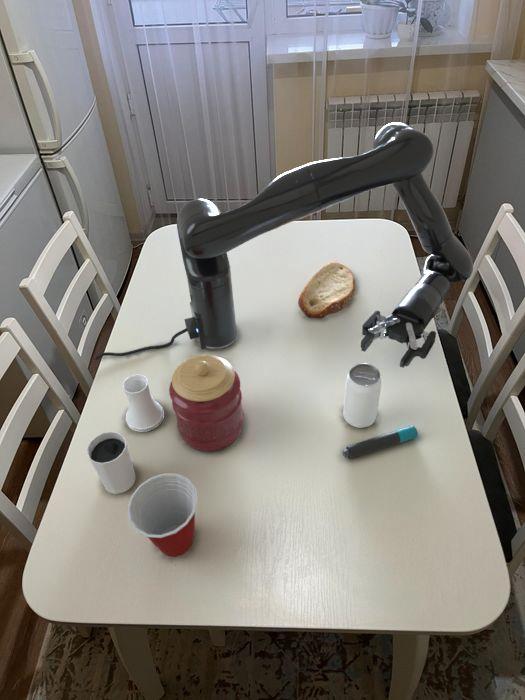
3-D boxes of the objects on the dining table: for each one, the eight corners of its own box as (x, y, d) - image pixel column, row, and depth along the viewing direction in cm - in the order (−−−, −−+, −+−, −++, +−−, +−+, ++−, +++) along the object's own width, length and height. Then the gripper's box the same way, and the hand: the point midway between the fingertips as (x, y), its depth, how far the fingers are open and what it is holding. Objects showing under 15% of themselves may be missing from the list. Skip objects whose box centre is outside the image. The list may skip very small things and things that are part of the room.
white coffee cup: (106, 464, 101) (92, 431, 95) (141, 464, 101) (129, 431, 94) (97, 496, 97) (81, 463, 90) (134, 496, 96) (121, 463, 89)
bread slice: (342, 264, 144) (342, 253, 142) (375, 303, 132) (377, 291, 129) (279, 281, 140) (279, 269, 138) (307, 323, 128) (308, 311, 125)
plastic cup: (144, 514, 94) (129, 475, 85) (206, 507, 94) (197, 468, 86) (139, 576, 86) (122, 539, 78) (207, 569, 86) (197, 532, 78)
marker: (343, 460, 100) (347, 460, 98) (339, 447, 101) (343, 447, 98) (413, 437, 103) (419, 437, 101) (409, 425, 104) (415, 425, 101)
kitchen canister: (253, 409, 110) (248, 345, 97) (230, 460, 101) (221, 398, 89) (195, 395, 113) (183, 332, 101) (167, 443, 104) (150, 381, 92)
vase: (147, 437, 106) (137, 404, 99) (118, 422, 109) (106, 389, 102) (171, 411, 110) (163, 378, 103) (143, 398, 113) (133, 364, 106)
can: (375, 431, 104) (381, 389, 96) (341, 426, 105) (345, 384, 97) (376, 405, 109) (383, 363, 101) (344, 401, 110) (348, 359, 102)
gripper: (388, 284, 117) (350, 330, 109) (451, 306, 111) (417, 356, 102) (386, 310, 123) (350, 355, 114) (446, 332, 116) (413, 382, 108)
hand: (382, 356), depth 108 cm, fingers open, 8 cm apart
